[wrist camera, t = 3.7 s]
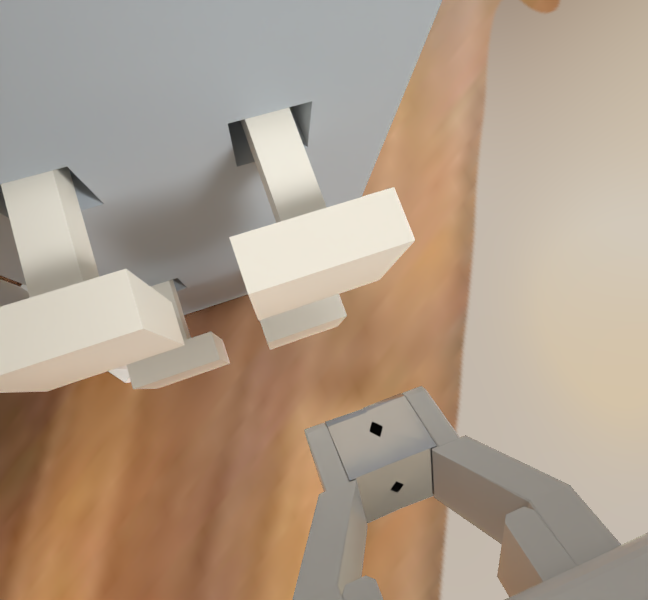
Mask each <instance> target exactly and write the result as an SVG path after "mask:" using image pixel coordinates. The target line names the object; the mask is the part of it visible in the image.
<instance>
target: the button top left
mask: <svg viewBox="0 0 648 600" xmlns="http://www.w3.org/2000/svg"><path fill="white" fill-rule="evenodd" d="M1 188H2V192H3V195H4V199H5V203H6V207H7V211H8V215H9V219H10V223H11V227H12V231H13V235H14V239H15V242H16V246H17V250H18V254H19V258H20V262H21V266H22V270H23V274H24V278H25V282H26V286H27V289H28V293H29V297H30V298H27V299H24V300H21V301H18V302H14V303H11V304H8V305H4V306H1V307H0V393H9V392H47V391H50V390H53V389H56V388H59V387H62V386H65V385H68V384H71V383H74V382H77V381H80V380H83V379H86V378H89V377H92V376H95V375H98V374H101V373H104V372H107V371H110V370H113V369H116V368H119V367H122V366H125V365H128V364H131V363H134V362H136V361H139V360H142V359H145V358H148V357H151V356H154V355H157V354H160V353H163V352H166V351H169V350H172V349H175V348H178V347H181V346H184V345H185V344H184V341H183V337H182V334H181V331H180V328H179V324H178V321H177V318H176V314H175V311H174V308H173V305H172V302H171V301H169V300H168V299H167V298H165V297H164V296H162V295H161V294H160V293H158V292H157V291H156V290H154V289H153V288H152V287H150V286H149V285H148V284H146V283H145V282H143V281H142V280H141V279H139V278H138V277H137V276H135V275H134V274H133V273H131V272H130V271H129V270H127V269H123V270H120V271H116V272H113V273H110V274H106V275H103V276H100V277H99V273H98V270H97V266H96V263H95V259H94V255H93V252H92V248H91V245H90V241H89V238H88V234H87V231H86V227H85V224H84V220H83V217H82V213H81V209H80V206H79V202H78V199H77V195H76V192H75V188H74V185H73V181H72V178H71V174H70V170H69V168H68V167H63V168H59V169H56V170H52V171H48V172H44V173H41V174H37V175H33V176H29V177H25V178H22V179H18V180H14V181H10V182H7V183H3V184H1Z"/></svg>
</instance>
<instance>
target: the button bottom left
mask: <svg viewBox="0 0 648 600" xmlns="http://www.w3.org/2000/svg"><path fill="white" fill-rule="evenodd" d="M150 287H152V288H153V289H154V290H156V291H157V292H158V293H160V294H161V295H162V296H164V297H165V298H167V299H168V300H169V301H171V302H172V305H173V308H174V311H175V314H176V318H177V321H178V324H179V328H180V331H181V334H182V337H183V341H184V344H185V345H184V346H181V347H178V348H175V349H172V350H169V351H166V352H163V353H160V354H157V355H154V356H151V357H148V358H145V359H142V360H139V361H136V362H134V363H131V364H128V365H126V366H127V369H128V373H129V376H130V380H131V383H132V387H133V389H158V388H161V387H164V386H167V385H170V384H173V383H175V382H178V381H181V380H184V379H187V378H190V377H193V376H196V375H198V374H201V373H204V372H207V371H210V370H213V369H216V368H219V367H222V366H224V365H227V364H230V361H229V358H228V355H227V352H226V349H225V346H224V343H223V340H222V339H221V338H219V337H218V336H217V335H215V334H214V333H213V332H208V333H205V334H202V335H199V336H196V337H193V338H191V336H190V333H189V330H188V327H187V323H186V320H185V317H184V314H183V311H182V307H181V304H180V301H179V298H178V294H177V291H176V288H175V285H174V281H173V279H172V280H169V281H166V282H163V283H160V284H156V285H153V286H150Z"/></svg>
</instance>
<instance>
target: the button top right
mask: <svg viewBox="0 0 648 600" xmlns="http://www.w3.org/2000/svg"><path fill="white" fill-rule="evenodd" d="M240 121H241V124H242V127H243V130H244V133H245V135H246V138H247V141H248V144H249V147H250V150H251V152H252V155H253V158H254V161H255V164H256V167H257V169H258V172H259V175H260V178H261V181H262V184H263V186H264V189H265V192H266V195H267V198H268V201H269V203H270V206H271V209H272V212H273V215H274V218H275V220H276V223H274V224H271V225H268V226H264V227H261V228H258V229H254V230H251V231H248V232H245V233H241V234H238V235H235V236H231V237H229V238H230V241H231V244H232V247H233V250H234V253H235V256H236V259H237V262H238V265H239V268H240V271H241V274H242V277H243V280H244V283H245V286H246V289H247V292H248V295H249V298H250V300H251V303H252V305H253V308H254V310H255V313H256V316H257V318H258V321H259V320H262V319H265V318H268V317H271V316H274V315H277V314H280V313H283V312H286V311H289V310H292V309H295V308H298V307H301V306H304V305H307V304H310V303H313V302H316V301H319V300H322V299H325V298H328V297H330V296H333V295H336V294H339V293H342V292H345V291H348V290H351V289H354V288H357V287H360V286H363V285H366V284H369V283H372V282H375V281H378V280H380V279H381V278H382V276H383V275H384V274H385V273H386V272H387V271H388V270H389V269H390V268H391V267H392V265H393V264H394V263H395V262H396V261H397V260H398V259H399V258H400V257H401V255H402V254H403V253H404V252H405V251H406V250H407V249H408V248H409V247H410V246H411V244H412V243H413V242H414V241H415V238H414V236H413V233H412V231H411V228H410V226H409V223H408V221H407V218H406V216H405V213H404V211H403V208H402V206H401V203H400V201H399V198H398V196H397V193H396V191H395V188H394V187H393V188H389V189H386V190H383V191H380V192H376V193H373V194H370V195H366V196H363V197H360V198H356V199H353V200H350V201H347V202H343V203H340V204H337V205H333V206H330V207H326V204H325V202H324V199H323V196H322V193H321V191H320V188H319V185H318V183H317V180H316V177H315V175H314V172H313V169H312V167H311V164H310V161H309V159H308V156H307V153H306V151H305V148H304V145H303V143H302V140H301V137H300V135H299V132H298V129H297V126H296V124H295V121H294V118H293V116H292V113H291V110H290V108H285V109H281V110H277V111H274V112H270V113H266V114H262V115H259V116H255V117H251V118H247V119H244V120H240Z"/></svg>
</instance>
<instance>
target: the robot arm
mask: <svg viewBox="0 0 648 600" xmlns="http://www.w3.org/2000/svg"><path fill="white" fill-rule="evenodd" d="M304 431H305V435H306V438H307V441H308V444H309V447H310V451H311V454H312V457H313V460H314V463H315V466H316V470H317V473H318V476H319V479H320V482H321V485H322V488H323V490H324V492H323V493H321V494H319V497H318V501H317V505H316V509H315V513H314V517H313V521H312V525H311V529H310V533H309V537H308V540H307V544H306V548H305V552H304V556H303V560H302V564H301V568H300V572H299V576H298V580H297V584H296V588H295V592H294V596H293V600H383V597H382V595H381V592H380V590H379V587H378V585H377V582H376V580H375V579H373V578H370V577H368V576H364V577H362V578H361V576H362V567H363V559H364V551H365V542H366V534H367V523H369V522H371V521H374V520H376V519H378V518H380V517H383V516H385V515H387V514H389V513H391V512H394V511H396V510H398V509H400V508H403V507H406V506H408V505H411V504H413V503H416V502H418V501H421V500H424V499H426V498H429V497H431V496H434V498H436V499H437V500H438V501H440V502H441V503H443V504H444V505H446V506H447V507H449V508H450V509H451V510H453V511H454V512H456V513H457V514H459V515H460V516H462V517H463V518H464V519H466V520H467V521H469V522H470V523H472V524H473V525H475V526H476V527H477V528H479V529H480V530H482V531H483V532H485V533H486V534H488V535H489V536H491V537H492V538H493V539H495V540H496V541H498V542H499V543H500V544H502V547H501V554H500V561H499V568H498V575H497V577H498V578H499V580H500V582H501V583H502V585H503V587H504V588H505V590H506V592H507V594H508V595H509V598H507V599H505V600H648V533H646V534H644V535H642V536H640V537H637V538H635V539H633V540H631V541H629V542H627V543H625V544H623V545H621V544H620V543H619V542H618V540H617V539H616V538H615V537H614V536H613V535H612V534H611V532H610V531H609V530H608V529H607V528H606V527H605V526H604V524H603V523H602V522H601V521H600V520H599V518H598V517H597V516H596V515H595V514H594V513H593V512H592V510H591V509H590V508H589V507H588V506H587V505H586V503H585V502H584V501H583V500H582V499H581V498H580V497H579V495H578V494H577V493H576V492H575V491H574V489H573V488H572V487H571V486H570V485H568V484H566V483H564V482H562V481H560V480H558V479H556V478H554V477H551V476H550V475H548V474H545V473H543V472H541V471H539V470H537V469H535V468H533V467H531V466H529V465H527V464H524V463H522V462H520V461H518V460H516V459H514V458H512V457H510V456H508V455H506V454H503V453H501V452H499V451H497V450H495V449H493V448H491V447H489V446H487V445H485V444H483V443H480V442H478V441H476V440H474V439H472V438H470V437H468V436H466V435H465V436H463V437H459V436H458V434H457V433H456V431H455V430H454V429H453V427H452V426H451V424H450V423H449V422H448V420H447V419H446V417H445V416H444V414H443V413H442V412H441V410H440V409H439V407H438V406H437V405H436V403H435V402H434V400H433V399H432V398H431V396H430V395H429V393H428V392H427V391H426V389H425V388H423V387H422V386H420V387H417V388H415V389H412V390H409V391H407V392H404V393H402V394H401V393H400V394H397V395H395V396H392V397H390V398H387V399H385V400H382V401H380V402H377V403H375V404H372V405H369V406H367V407H364V408H363V409H361V410H359V411H356V412H353V413H350V414H347V415H344V416H341V417H338V418H335V419H333V420H330V421H327V422H325V423H321V424H319V425H316V426H313V427H310V428H308V429H305V430H304Z"/></svg>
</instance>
